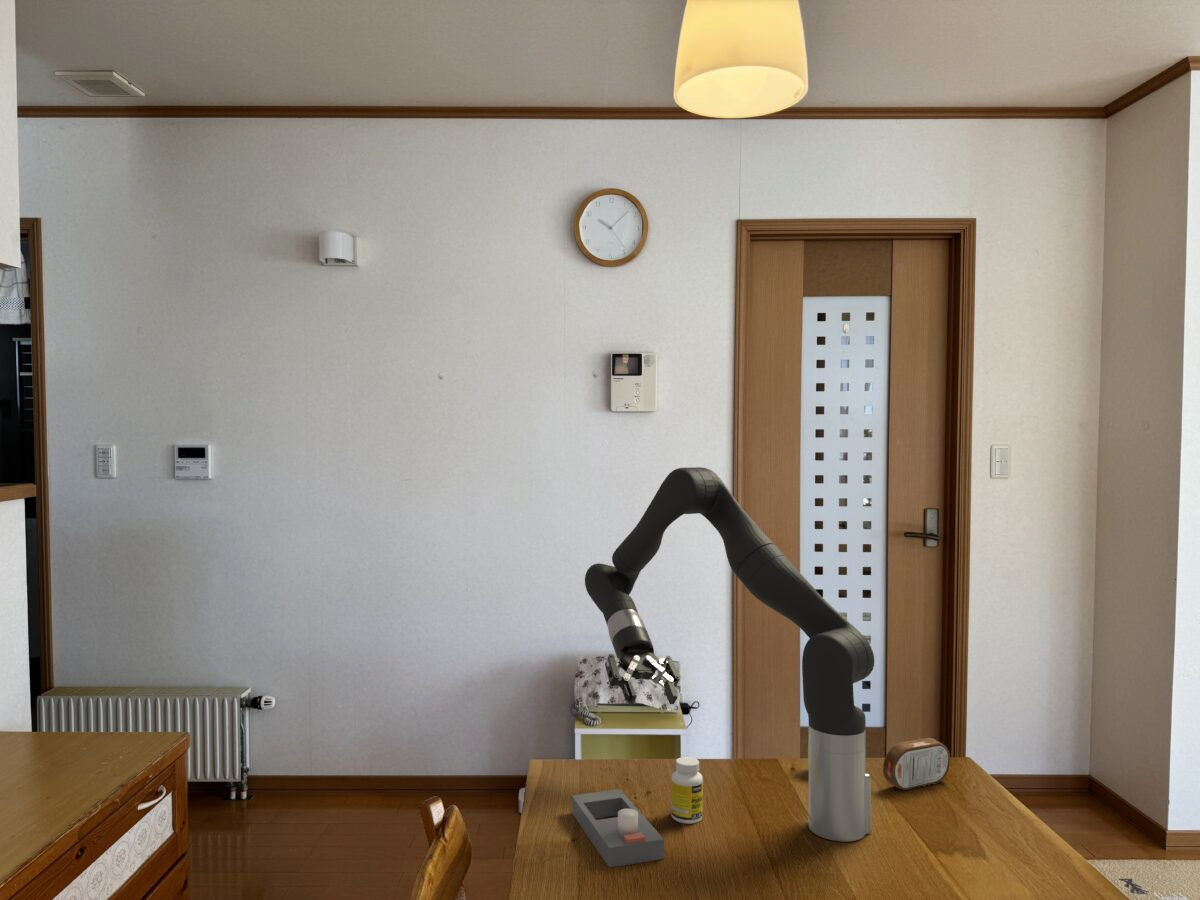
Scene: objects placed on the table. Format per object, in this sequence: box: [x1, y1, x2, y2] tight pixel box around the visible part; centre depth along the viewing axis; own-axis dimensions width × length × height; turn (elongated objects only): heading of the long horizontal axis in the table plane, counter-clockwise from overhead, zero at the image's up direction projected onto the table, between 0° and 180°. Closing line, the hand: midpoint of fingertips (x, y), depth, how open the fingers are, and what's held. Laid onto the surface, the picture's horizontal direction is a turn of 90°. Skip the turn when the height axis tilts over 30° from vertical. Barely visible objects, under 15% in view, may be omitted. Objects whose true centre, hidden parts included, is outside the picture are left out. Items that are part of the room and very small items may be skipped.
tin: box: [882, 737, 951, 791], centre depth 152 cm, size 15×3×8 cm, turn 114°
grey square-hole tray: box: [571, 788, 665, 869], centre depth 132 cm, size 9×20×6 cm, turn 19°
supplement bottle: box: [670, 756, 704, 825], centre depth 138 cm, size 5×5×10 cm
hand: (653, 701), depth 149 cm, fingers open, 8 cm apart
